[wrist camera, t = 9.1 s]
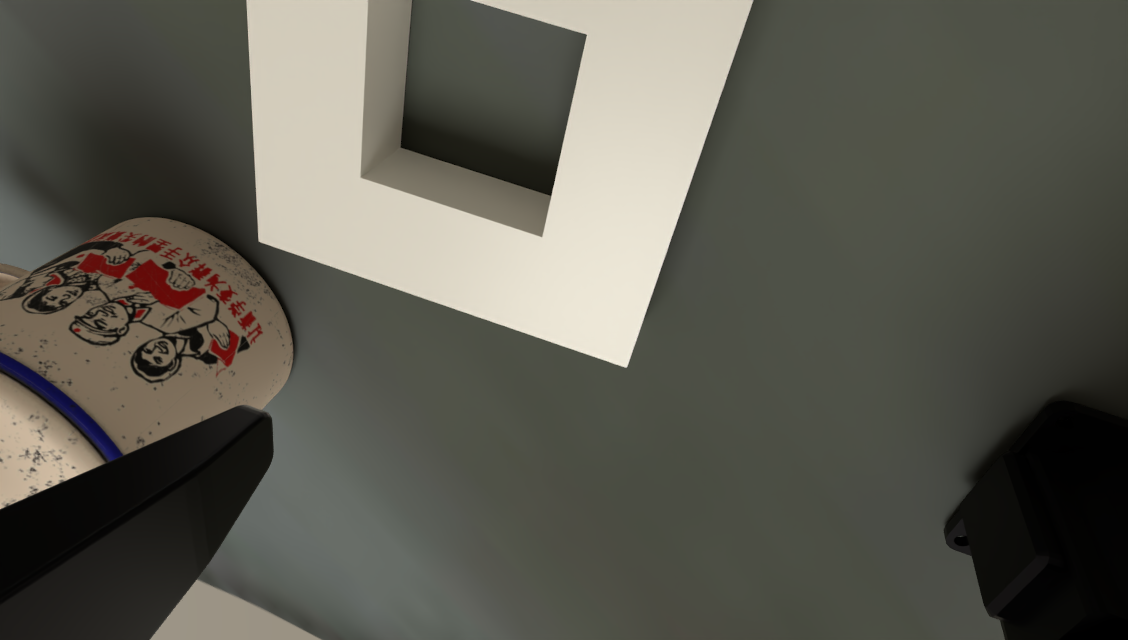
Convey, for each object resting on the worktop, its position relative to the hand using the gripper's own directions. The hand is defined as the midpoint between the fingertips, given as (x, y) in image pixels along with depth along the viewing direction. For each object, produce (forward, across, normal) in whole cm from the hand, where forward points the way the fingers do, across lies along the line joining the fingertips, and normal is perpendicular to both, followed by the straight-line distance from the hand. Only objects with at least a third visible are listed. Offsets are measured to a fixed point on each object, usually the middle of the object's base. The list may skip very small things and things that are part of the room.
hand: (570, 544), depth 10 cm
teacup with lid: (+13, +18, +11) cm, 25 cm away
